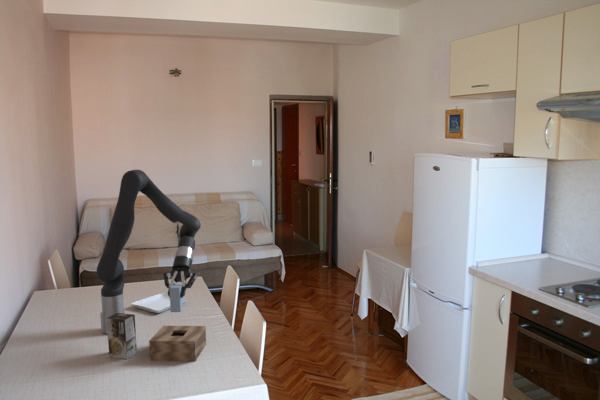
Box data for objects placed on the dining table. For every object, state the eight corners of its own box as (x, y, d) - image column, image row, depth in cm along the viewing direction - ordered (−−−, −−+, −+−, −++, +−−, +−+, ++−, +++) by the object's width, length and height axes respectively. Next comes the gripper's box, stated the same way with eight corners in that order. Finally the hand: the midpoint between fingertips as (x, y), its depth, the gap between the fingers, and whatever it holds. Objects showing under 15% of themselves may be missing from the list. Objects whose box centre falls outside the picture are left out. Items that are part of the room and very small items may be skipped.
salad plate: (189, 304, 257) (189, 298, 257) (158, 316, 240) (157, 310, 239) (161, 298, 269) (161, 292, 268) (129, 309, 251) (129, 303, 250)
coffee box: (137, 352, 197) (135, 314, 195) (127, 359, 191) (124, 319, 189) (119, 350, 200) (116, 312, 198) (108, 356, 194) (105, 317, 192)
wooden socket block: (150, 360, 189) (149, 340, 188) (164, 343, 205) (163, 325, 204) (195, 361, 188) (194, 341, 187) (206, 344, 204) (205, 325, 203)
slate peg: (170, 312, 193) (169, 287, 192) (173, 308, 197) (172, 284, 196) (180, 312, 193) (179, 287, 192) (183, 308, 197) (182, 284, 195)
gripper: (164, 254, 201) (155, 292, 191) (198, 254, 200) (191, 292, 190) (169, 264, 207) (160, 301, 196) (202, 264, 206) (195, 301, 196)
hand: (175, 296), depth 193 cm, fingers closed on slate peg, 4 cm apart
